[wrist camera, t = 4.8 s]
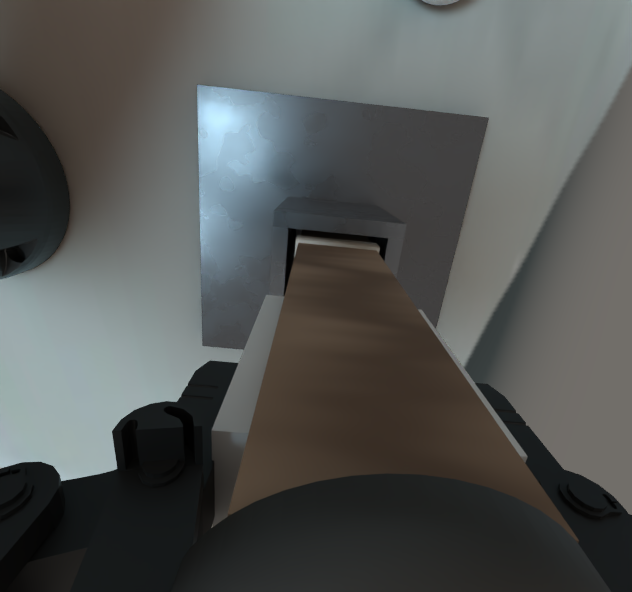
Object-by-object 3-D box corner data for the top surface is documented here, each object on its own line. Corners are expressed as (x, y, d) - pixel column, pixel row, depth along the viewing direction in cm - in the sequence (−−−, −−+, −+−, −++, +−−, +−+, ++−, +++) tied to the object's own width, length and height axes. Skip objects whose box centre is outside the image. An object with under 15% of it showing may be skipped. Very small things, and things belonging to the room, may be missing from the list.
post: (286, 291, 24) (119, 931, 4) (291, 211, 22) (18, 671, 2) (364, 299, 24) (589, 949, 4) (377, 220, 22) (935, 726, 2)
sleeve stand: (206, 339, 31) (158, 413, 22) (202, 88, 24) (129, 38, 15) (422, 359, 32) (466, 439, 22) (480, 120, 25) (581, 91, 15)
